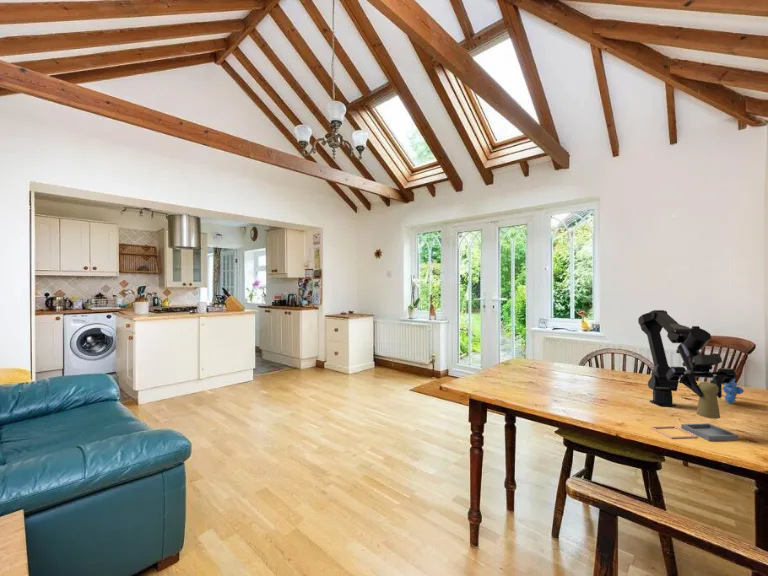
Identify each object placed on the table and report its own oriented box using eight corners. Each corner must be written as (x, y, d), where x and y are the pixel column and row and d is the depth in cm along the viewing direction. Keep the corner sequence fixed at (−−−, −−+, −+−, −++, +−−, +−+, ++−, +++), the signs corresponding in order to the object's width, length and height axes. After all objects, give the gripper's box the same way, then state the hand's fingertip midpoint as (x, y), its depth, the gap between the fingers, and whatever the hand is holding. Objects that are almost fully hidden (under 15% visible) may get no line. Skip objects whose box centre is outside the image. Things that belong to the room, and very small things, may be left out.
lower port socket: (681, 428, 128) (681, 424, 128) (709, 427, 128) (709, 423, 128) (708, 441, 118) (708, 436, 118) (738, 439, 118) (738, 435, 118)
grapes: (746, 409, 146) (746, 379, 146) (723, 406, 150) (723, 377, 150) (742, 401, 155) (742, 373, 155) (720, 398, 159) (720, 371, 159)
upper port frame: (649, 428, 129) (649, 426, 129) (674, 427, 129) (674, 425, 129) (671, 438, 120) (671, 437, 120) (697, 437, 120) (697, 436, 120)
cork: (703, 411, 127) (703, 379, 127) (724, 417, 121) (724, 384, 121) (692, 413, 125) (692, 381, 125) (713, 419, 119) (713, 386, 119)
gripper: (670, 343, 129) (687, 383, 118) (733, 345, 124) (757, 386, 114) (659, 361, 137) (674, 399, 126) (718, 363, 132) (739, 403, 122)
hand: (710, 397), depth 122 cm, fingers closed on cork, 5 cm apart
